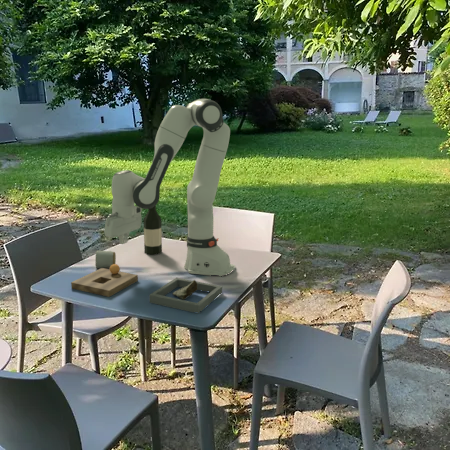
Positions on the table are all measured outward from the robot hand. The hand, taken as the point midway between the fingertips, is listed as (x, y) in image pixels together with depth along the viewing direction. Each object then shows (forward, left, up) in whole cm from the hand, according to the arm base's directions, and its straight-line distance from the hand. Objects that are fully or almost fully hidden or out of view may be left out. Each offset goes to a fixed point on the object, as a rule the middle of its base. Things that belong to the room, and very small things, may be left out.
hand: (123, 243), depth 185 cm
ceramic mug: (+13, -4, -14) cm, 19 cm away
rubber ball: (0, +7, -9) cm, 11 cm away
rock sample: (-34, +9, -14) cm, 38 cm away
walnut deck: (0, +13, -13) cm, 19 cm away
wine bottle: (+6, -30, -14) cm, 33 cm away
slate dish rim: (-35, +10, -13) cm, 39 cm away
